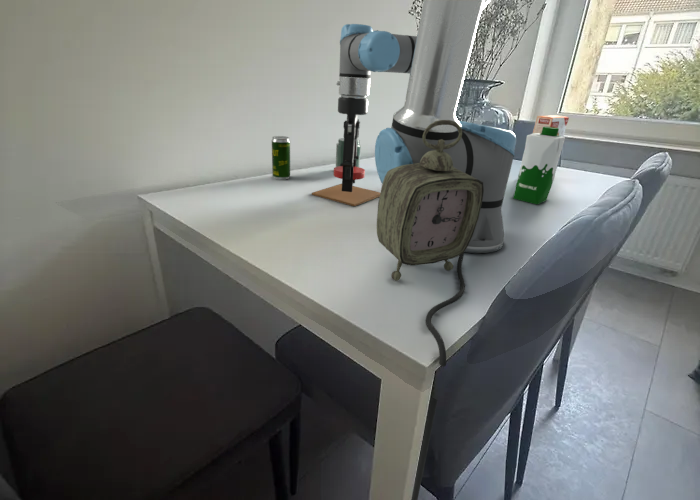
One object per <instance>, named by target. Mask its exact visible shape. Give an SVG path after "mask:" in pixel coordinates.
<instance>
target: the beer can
mask: <svg viewBox="0 0 700 500" xmlns="http://www.w3.org/2000/svg"><path fill="white" fill-rule="evenodd" d="M271 138H272V139H271V167H272V168H271V169H272V171H271V173H272V177H273V179H274V180H279V181H282V180H289V179H290V177H291V140H290V137H289V136H284V135H274V136H272V137H271Z"/></svg>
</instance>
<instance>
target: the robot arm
mask: <svg viewBox="0 0 700 500" xmlns="http://www.w3.org/2000/svg"><path fill="white" fill-rule="evenodd" d="M490 2H491V0H423V2H422V7H421V13H420V18H419V23H418V29H417V34H416V35H408V34H396V33H391V32H389V31H387V30H378V29H377V30H374V29H373V27H372V26H371V25H367V24H359V23H347V24H344V25H343V26H342V27H341V32H340V40H339V75H338V77H339V78H338V80H337V81H336V84H335V85H337V86H338V95H340V96H339V97H338V99H337V112H338V113H339V114H342V115H346V120H344V121H343V138H344V148H343V162H342V163H340V166H343V174H342V179H341V184H342V191H345V192H352V187H353V186H354V184H356V180H353V170H354V167H356V160H355V159H359V156H357V140H359V136H360V128H361V121H360V119H359V116H366V115H368V112H369V99H368V98H367V97H369V96H370V88H371V72H372V73H395V74H397V73H398V74H409V78H408V83H407V88H406V93H405V99H404V105H403V106H402V107H401V108H399V109H398V110H397V111H396V112H394V113H393V116H392V122H391V126H390V127H386V128H384V129H381V130H380V132H379V133H378V135H377V137H376V140H375V145H374V161H375V169H376V172H377V175H378V178H379V180H380V183H381V185H382V184H383V180H384V177H385V175H386V173H387V171H389V170H391V169H393V168H396V167H399V166H402V165H407V164H415V163H420V160H421V159H422V157H423V156H424V154H426V153H427V152H429V151H433V150H435V149H431V148H429V147H427V146H426V145H425V144H424V143H423V139H422V136H423V133H424V131H425V129H426V128H427V127H428V126H429V125H430V124H432V123H433V122H435V121H439V120H451V121H455V122H456V123H458V124H459V125H460V127H461V128H462V137H461V139H460V141H459V142H458V143H457V144H456V145H455V146H453V147H451V148H449V149H444V150H443V152H446V153H447V154H449V155H450V157H451V158H452V161H453V167H454V168H456V169H458V170H460V171H462V172H464V173H466V174H468V175H470V176H472V177H474V178H476V179H478V180H480V181H481V182H483V187H484V192H483V200H482V205H481V209H480V214H479V218H478V221H477V224H476V227H475V230H474V233H473V236H472V238H471V240H470V243H469V245H468V246H467V248H466V250H465V251H464V253H462V254H461V255H459V256H458V259H457V262H456V275H457V279H458V282H459V289H458V291H457V293H456V294H455V295H453V296H452V297H450V298H448V299H446V300H444V301H442V302H439V303H438V304H436V305H434V306H433V307H431V308H430V310H429V311H428V312H427V313H426V315H425V320H424V321H425V326H426V328H427V330H428V331H429V333H430V335H432V336H433V338H434V339H435V341H436V344H437V347H438V355H439V357H438V358H439V359H438V360H439V361H438V362H439V363H438V365H439V366H441V367H443V368H444V367H446V366H447V351H446V345H445V342H444V339H443V337H442V336H441V334H440V332H439V331H438V329H436V327H435V326H434V325H433V322H432V321H433V317H434V315H435V314H436V313H437V312H439V311H440V310H442V309H444V308H446V307H448V306H450V305H452V304H454V303H456V302H458V301H459V300H460V299H461V298H462V297H463V296H464V293H465V290H466V281H465V278H464V275H463V270H462V269H463V268H462V266H463V261H464V255H465V253H470V254H487V253H493V252H497V251H499V250H501V248H503V245H504V240H505V231H504V230H505V229H504V221H503V211H502V207H503V203H504V198H505V194H506V190H507V187H508V181H509V178H510V173H511V170H512V165H513V161H514V158H515V156H516V153H515V151H516V144H517V137H516V134H515V133H514V132H513V131H512V130H508V129H505V128H500V127H495V126H490V125H485V124H480V123H475V122H469V121H464V120H458V118H457V116H456V111H457V107H458V103H459V99H460V96H461V91H462V88H463V85H464V80H465V76H466V71H467V69H468V64H469V61H470V57H471V53H472V49H473V45H474V41H475V38H476V33H477V29H478V26H479V21H480V17H481V14H482V11H483V10H484V9H485V8H486V7H487V5H488V4H489V3H490ZM458 136H459V132H458V130H457V128H456V127H454V126H452V125H438V126H435V127H433V128H432V129H430V130H429V131H428V133H427V134H426V141H427V142H428V143H430V144H433V145H437V143H438V140H440V139H443V140H444V141H445V144H450V143H453V142H454V141H456V140H457V138H458ZM445 144H444V145H445ZM437 406H438V399H437V398H435V397H433V396H431V397H430V401H429V406H428V412H427V418H426V421H425V426H424V433H423V437H422V442H421V448H420V453H419V458H418V464H417V467H416V474H415V480H414V484H413V490H412V495H411V499H410V500H418V499H419V496H420V495H419V494H420V490H421V485H422V479H423V474H424V470H425V466H426V460H427V456H428V450H429V445H430V440H431V435H432V431H433V426H434V420H435V416H436V409H437Z"/></svg>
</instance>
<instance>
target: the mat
mask: <svg viewBox="0 0 700 500" xmlns="http://www.w3.org/2000/svg"><path fill="white" fill-rule="evenodd" d="M380 193H381V191H376V190H371V189H368V188H364V187H359V186H355V185H353V187H352V192H345V191H342V183H339V184H336V185H333V186H328V187H326V188H322V189H319V190H316V191H313V192H311V195H312V196H315V197H318V198H322V199H326V200H329V201H333V202H337V203H340V204H343V205H347V206H351V207H356V206H359V205H363V204H364V203H367V202H369V201H372V200H375V199H377V198H380Z"/></svg>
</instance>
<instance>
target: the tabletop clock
mask: <svg viewBox="0 0 700 500" xmlns="http://www.w3.org/2000/svg"><path fill="white" fill-rule="evenodd" d="M438 125H452V126H454V127H456V128H457V130H458V132H459V136H458V138H457V140H456V141H454V142H453V143H450V144H445V141H444V140H443V139H440V140H438V143H437V145H433V144H430V143H428V142H427V141H426V134H427V133H428V131H429V130H430V129H432V128H433V127H435V126H438ZM461 137H462V128H461V127H460V125H459V124H458V123H456V122H455V121H451V120H439V121H435V122H433V123H432V124H430V125H429V126H428V127H427V128H426V129H425V131H424V133H423V136H422V139H423V143H424V144H425V145H426V146H427V147H429V148H431V149H435V150H433V151H429V152H427V153H426V154H424V156H423V157H422V159H421V160H420V163H415V164H407V165H402V166H399V167H396V168H393V169H391V170H389V171H387V173H386V175H385V177H384V180H383V184H382V183H381V188H380V197H378V198H379V199H378V205H377V215H376V236H377V239H378V242H379V243H380V244H381V245H382V246H383V247H384V248H385V249H386V250H387V251H388V252H389V253H390V254H391V255H392V256H393V257H394V258H395V259H396V260H397V264H396V270H393V271H392V273H391V275H390V276H391V279H392V280H393V281H395V282H399V281H400V280H401V278H402V273H401V272H400V270H401V268H402V266H403V265H405V266H422V265H433V264H436V263H441V262H444V264H443V268H444V270H445V271H447V272H450V271H452V270H453V269H454V264H453V262H451V261H450V260H451V259H454V258H457V257H459V255H461V254H462V253H464V254H465V252H464V251H465V250H466V248H467V246H468V245H469V243H470V240H471V238H472V236H473V233H474V230H475V227H476V224H477V221H478V218H479V214H480V209H481V205H482V200H483V192H484V187H483V182H481V181H480V180H478V179H476V178H474V177H472V176H470V175H468V174H466V173H464V172H462V171H460V170H458V169H456V168H454V167H453V161H452V158H451V157H450V155H449V154H447V153H446V152H443V150H444V149H449V148H451V147H453V146H455V145H456V144H457V143H458V142H459V141H460V139H461ZM444 144H445V145H444Z"/></svg>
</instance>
